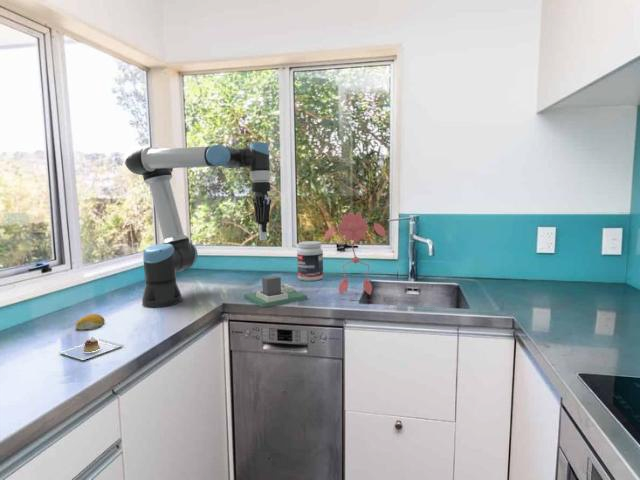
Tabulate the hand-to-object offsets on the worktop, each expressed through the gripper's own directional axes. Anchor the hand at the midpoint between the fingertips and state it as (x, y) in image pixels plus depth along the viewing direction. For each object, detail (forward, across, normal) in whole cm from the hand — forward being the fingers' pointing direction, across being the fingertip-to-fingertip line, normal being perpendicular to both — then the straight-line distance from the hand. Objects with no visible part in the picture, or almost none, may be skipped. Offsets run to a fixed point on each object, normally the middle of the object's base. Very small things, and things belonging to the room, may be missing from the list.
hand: (263, 239), depth 168 cm
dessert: (+25, -22, +65) cm, 73 cm away
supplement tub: (+25, +20, -34) cm, 46 cm away
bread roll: (+25, +4, +64) cm, 69 cm away
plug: (+23, -6, 0) cm, 23 cm away
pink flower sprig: (+25, -20, -31) cm, 44 cm away
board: (+24, -3, -3) cm, 25 cm away
